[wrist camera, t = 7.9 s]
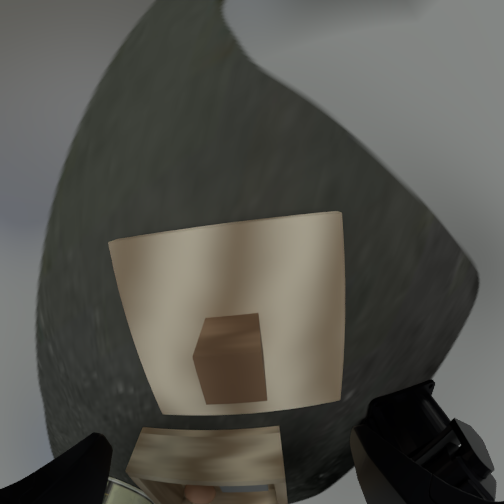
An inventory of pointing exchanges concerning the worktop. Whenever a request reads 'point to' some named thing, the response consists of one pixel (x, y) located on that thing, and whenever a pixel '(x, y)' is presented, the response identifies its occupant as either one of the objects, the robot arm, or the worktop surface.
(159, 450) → the box
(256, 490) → the rubber block
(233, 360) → the lid
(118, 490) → the coffee can
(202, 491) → the terracotta ball
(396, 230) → the worktop surface
